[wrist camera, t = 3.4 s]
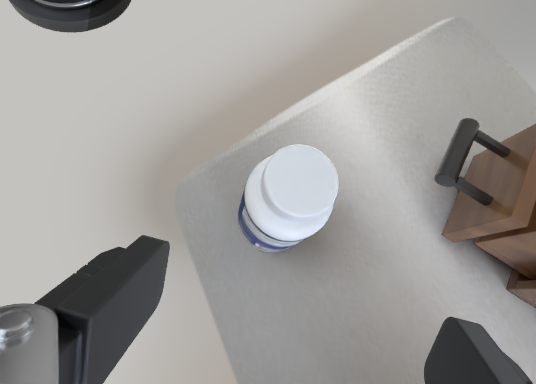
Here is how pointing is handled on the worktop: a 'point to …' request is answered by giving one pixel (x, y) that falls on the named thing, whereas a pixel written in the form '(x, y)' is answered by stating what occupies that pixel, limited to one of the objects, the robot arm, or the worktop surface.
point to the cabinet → (522, 287)
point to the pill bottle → (287, 198)
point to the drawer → (494, 194)
